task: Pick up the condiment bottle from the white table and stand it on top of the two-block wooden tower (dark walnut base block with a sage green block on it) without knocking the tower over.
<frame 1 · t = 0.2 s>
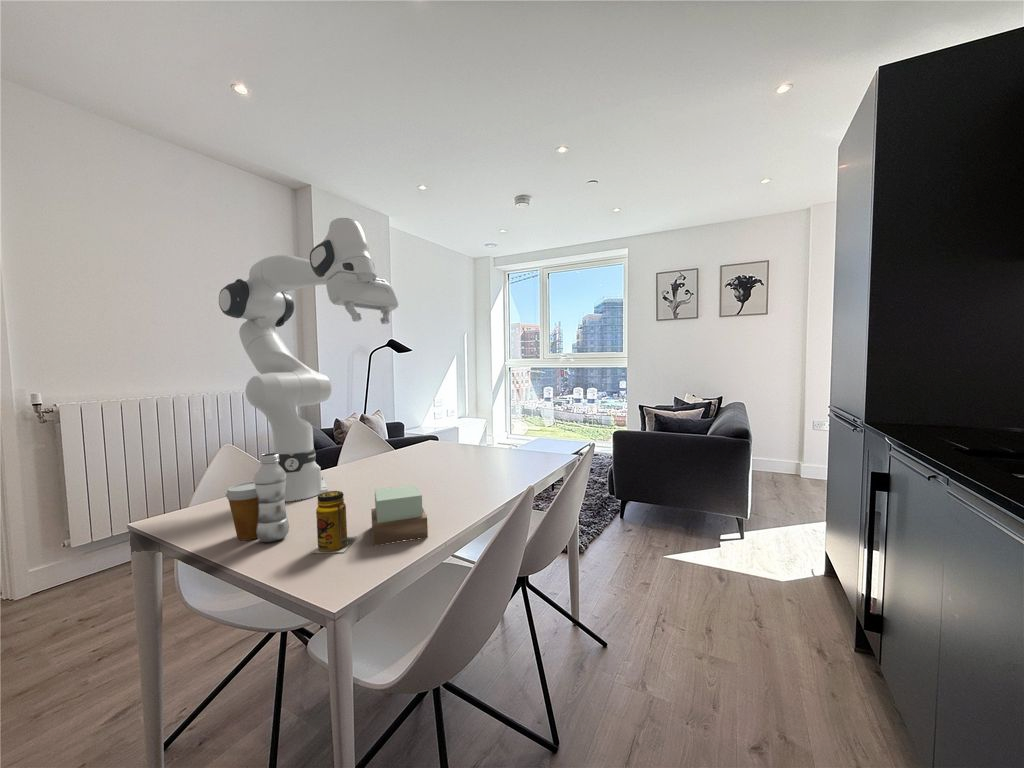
hand: (372, 322, 111), 52 cm above the table, tool tilted 20°, fingers open, 8 cm apart
plastic bottle: (273, 540, 97), on the table, touching disposable coffee cup
condiment: (335, 546, 93), on the table
top block: (398, 512, 100), point 5 cm above the table, touching base block
base block: (399, 533, 100), on the table, touching top block
disposable coffee cup: (253, 535, 100), on the table, touching plastic bottle
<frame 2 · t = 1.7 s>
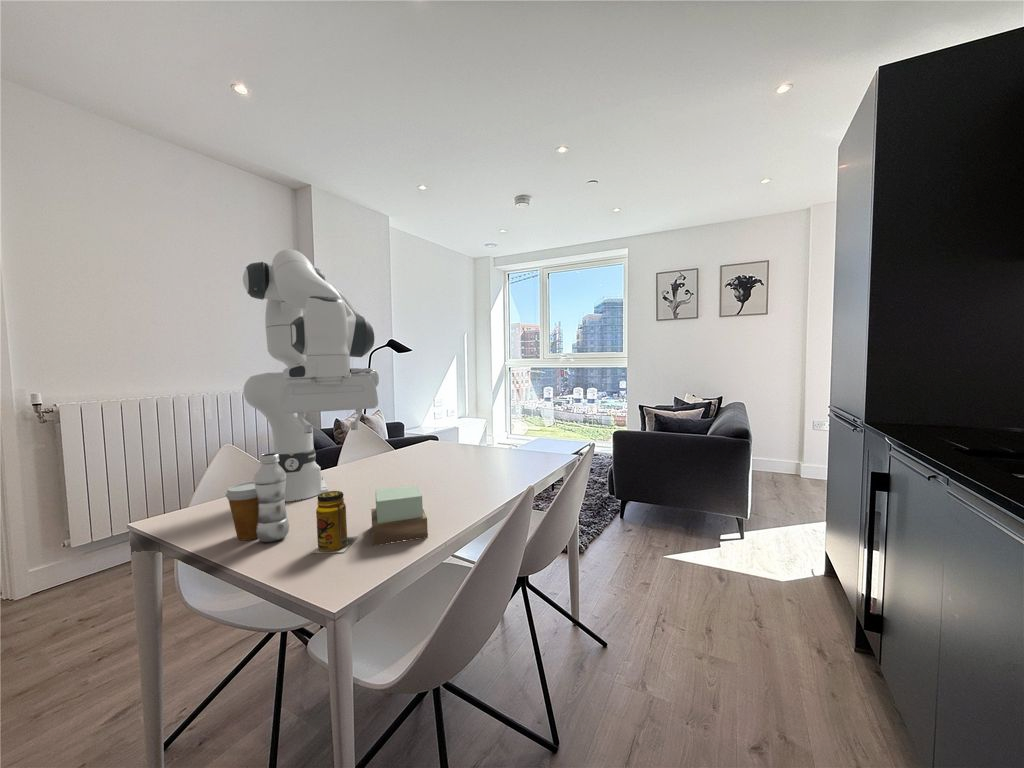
hand: (331, 431, 92), 26 cm above the table, tool pointing down, fingers open, 8 cm apart
nothing on the table moved.
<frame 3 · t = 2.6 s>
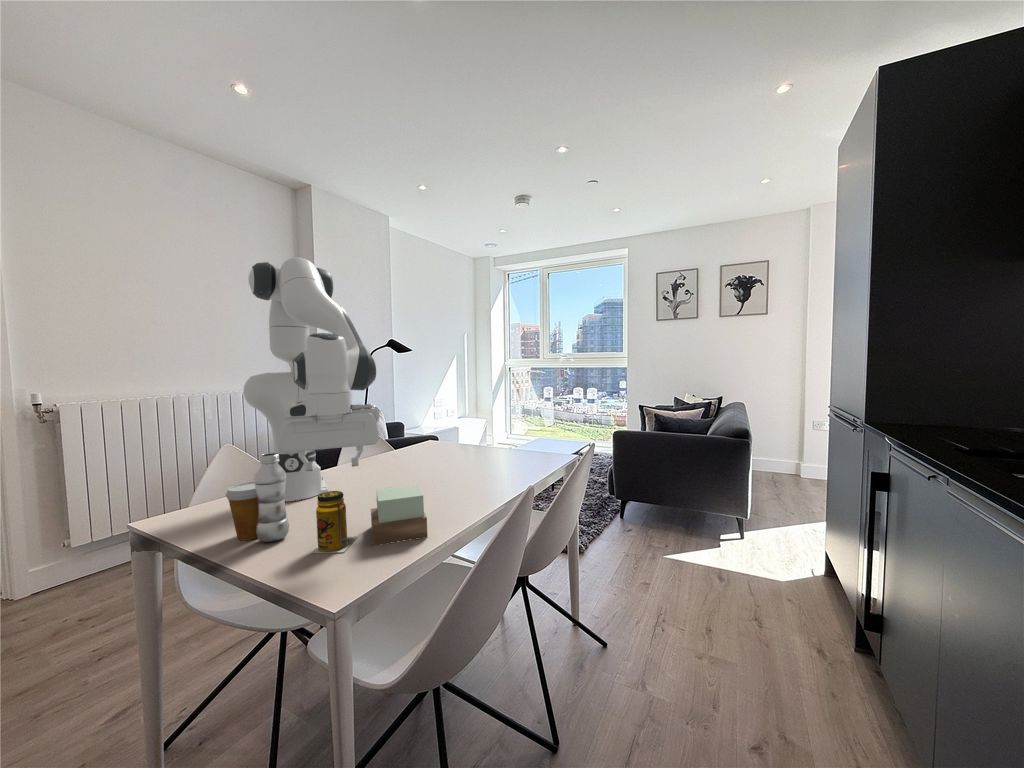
hand: (332, 468, 92), 17 cm above the table, tool pointing down, fingers open, 8 cm apart
nothing on the table moved.
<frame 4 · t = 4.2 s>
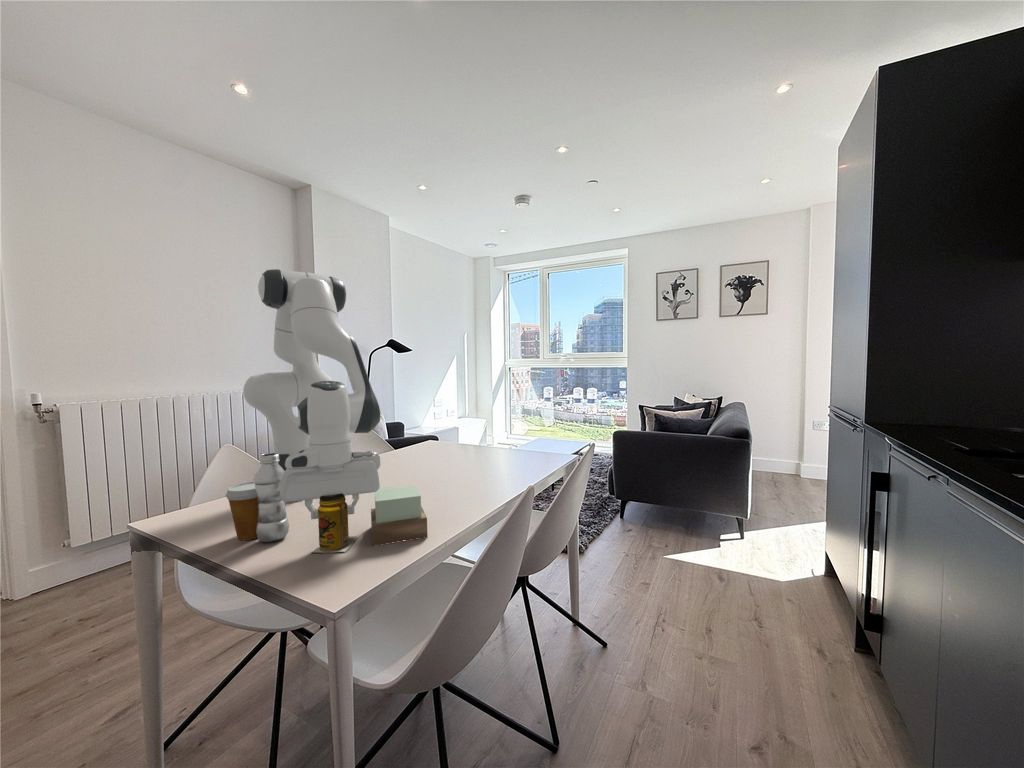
hand: (333, 515, 93), 7 cm above the table, tool pointing down, fingers closed on condiment, 6 cm apart
condiment: (336, 545, 93), on the table, touching gripper
everything else where it was.
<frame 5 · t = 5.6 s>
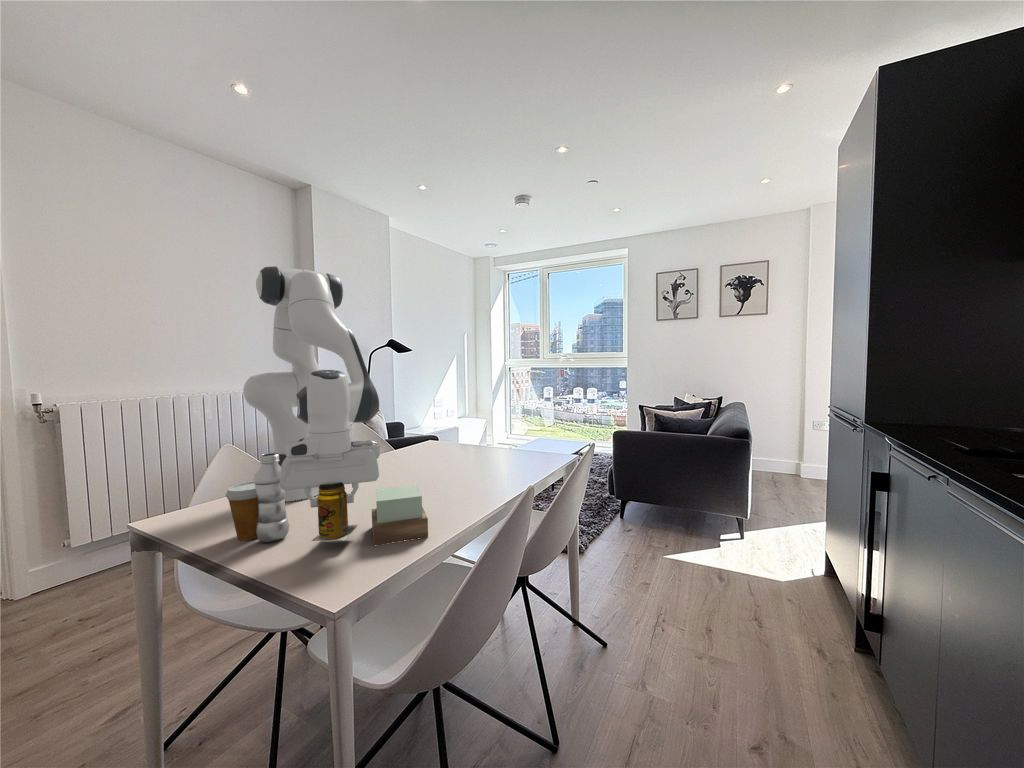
hand: (332, 504, 93), 9 cm above the table, tool pointing down, fingers closed on condiment, 6 cm apart
condiment: (336, 534, 94), point 2 cm above the table, touching gripper
everything else where it was.
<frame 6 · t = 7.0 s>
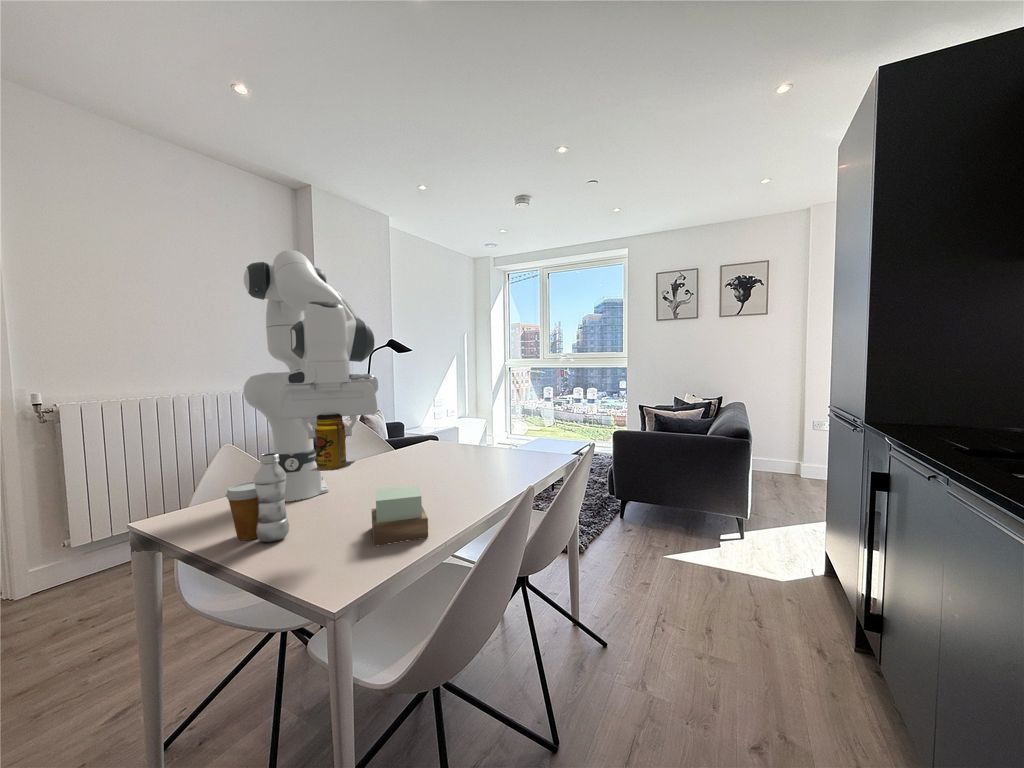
hand: (330, 437, 92), 24 cm above the table, tool pointing down, fingers closed on condiment, 6 cm apart
condiment: (334, 467, 93), point 17 cm above the table, touching gripper
everything else where it was.
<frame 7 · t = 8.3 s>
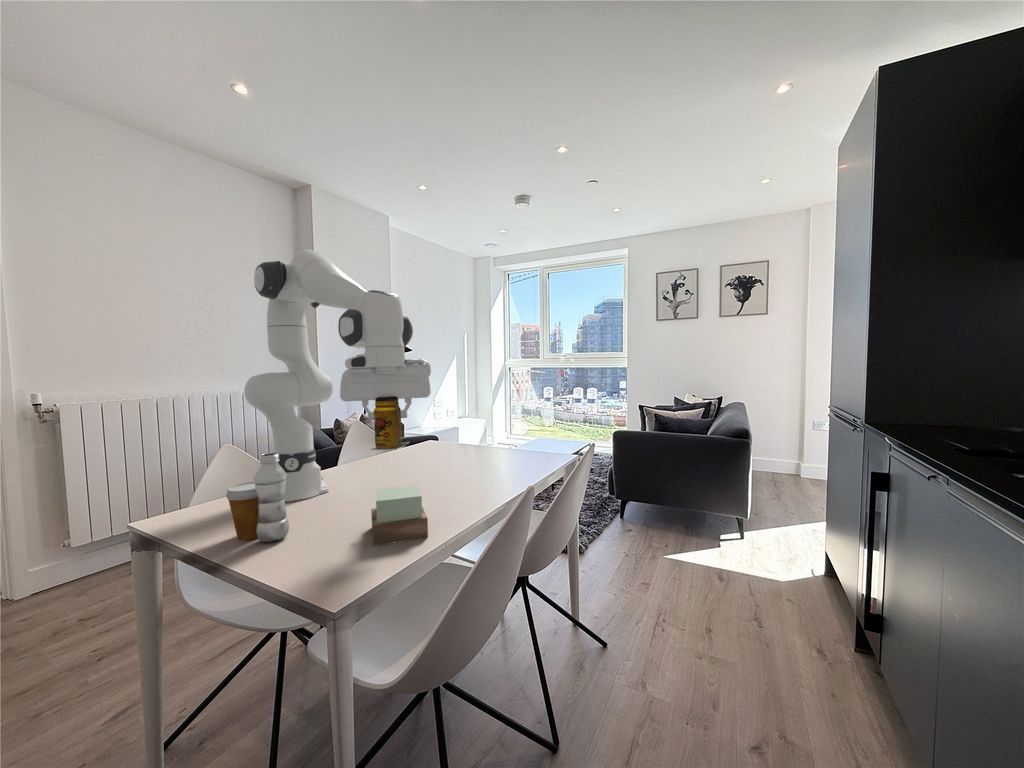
hand: (387, 418, 98), 27 cm above the table, tool pointing down, fingers closed on condiment, 6 cm apart
condiment: (390, 447, 98), point 21 cm above the table, touching gripper
everything else where it was.
when the fingers open (18 cm above the table, at t = 10.4 s): condiment drops 2 cm, resting on top block.
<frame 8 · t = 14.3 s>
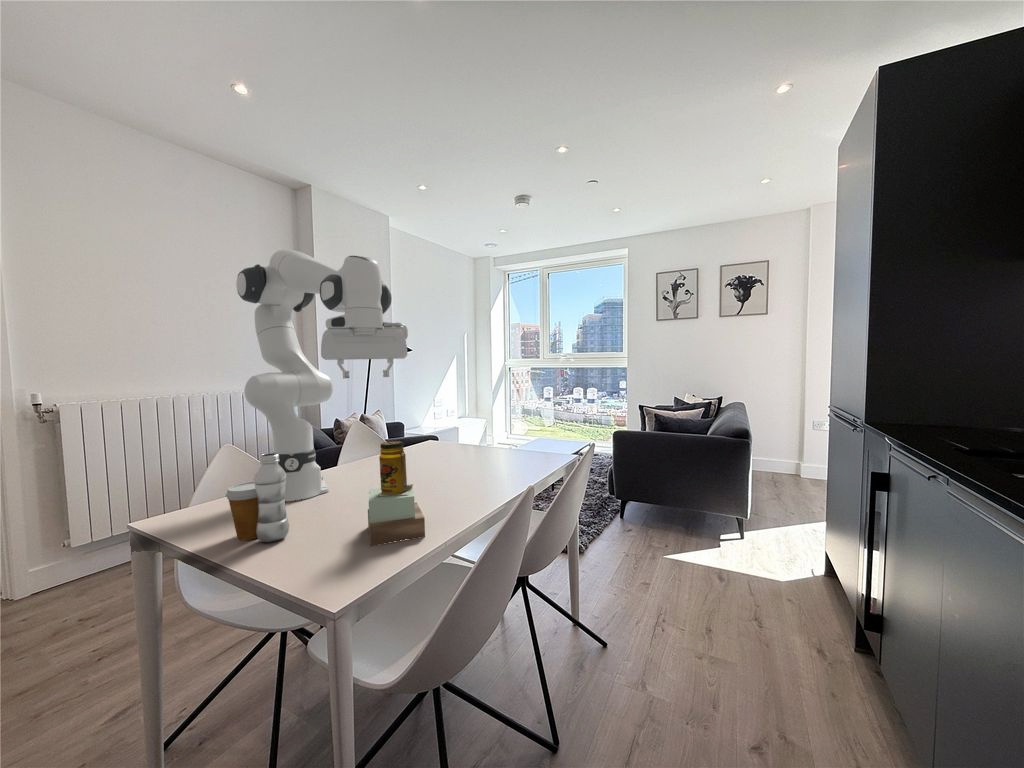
hand: (366, 377, 104), 37 cm above the table, tool pointing down, fingers open, 8 cm apart
condiment: (395, 491, 101), point 9 cm above the table, touching top block
top block: (392, 513, 100), point 5 cm above the table, touching base block, condiment
at the end: condiment inside the target area on the top block (1.3 cm from its centre), point 4.8 cm above the top block's base; top block 0.6 cm off-centre on the base block, point 5.0 cm above the base block's base; condiment tilted 1° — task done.
